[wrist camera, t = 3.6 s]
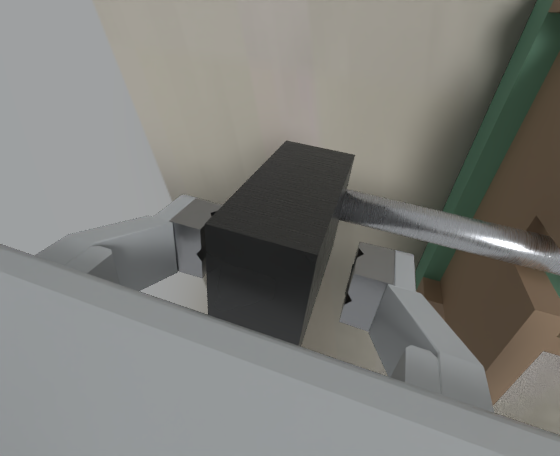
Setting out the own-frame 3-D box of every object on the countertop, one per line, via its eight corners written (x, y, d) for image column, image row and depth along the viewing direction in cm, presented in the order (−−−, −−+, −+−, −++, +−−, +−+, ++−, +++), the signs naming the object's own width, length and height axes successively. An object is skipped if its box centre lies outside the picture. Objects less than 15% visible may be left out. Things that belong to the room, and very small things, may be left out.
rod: (759, 192, 12) (1670, 631, 3) (675, 271, 14) (1097, 658, 6) (316, 110, 16) (204, 223, 7) (304, 183, 18) (209, 340, 9)
